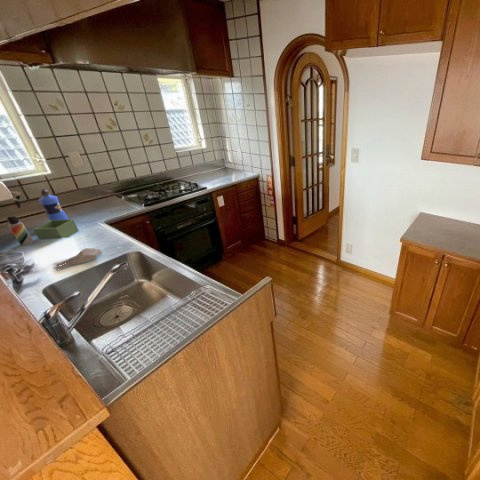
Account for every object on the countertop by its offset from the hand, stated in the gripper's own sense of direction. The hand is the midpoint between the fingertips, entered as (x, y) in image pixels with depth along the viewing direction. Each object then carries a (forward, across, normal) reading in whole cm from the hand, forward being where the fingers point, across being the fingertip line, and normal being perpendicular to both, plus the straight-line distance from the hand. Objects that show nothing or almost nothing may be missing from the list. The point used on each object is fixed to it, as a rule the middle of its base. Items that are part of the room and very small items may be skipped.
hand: (7, 210), depth 148 cm
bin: (+24, -15, -2) cm, 28 cm away
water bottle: (+24, -21, -28) cm, 42 cm away
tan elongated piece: (+24, -12, +48) cm, 55 cm away
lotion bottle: (+24, +1, 0) cm, 24 cm away
